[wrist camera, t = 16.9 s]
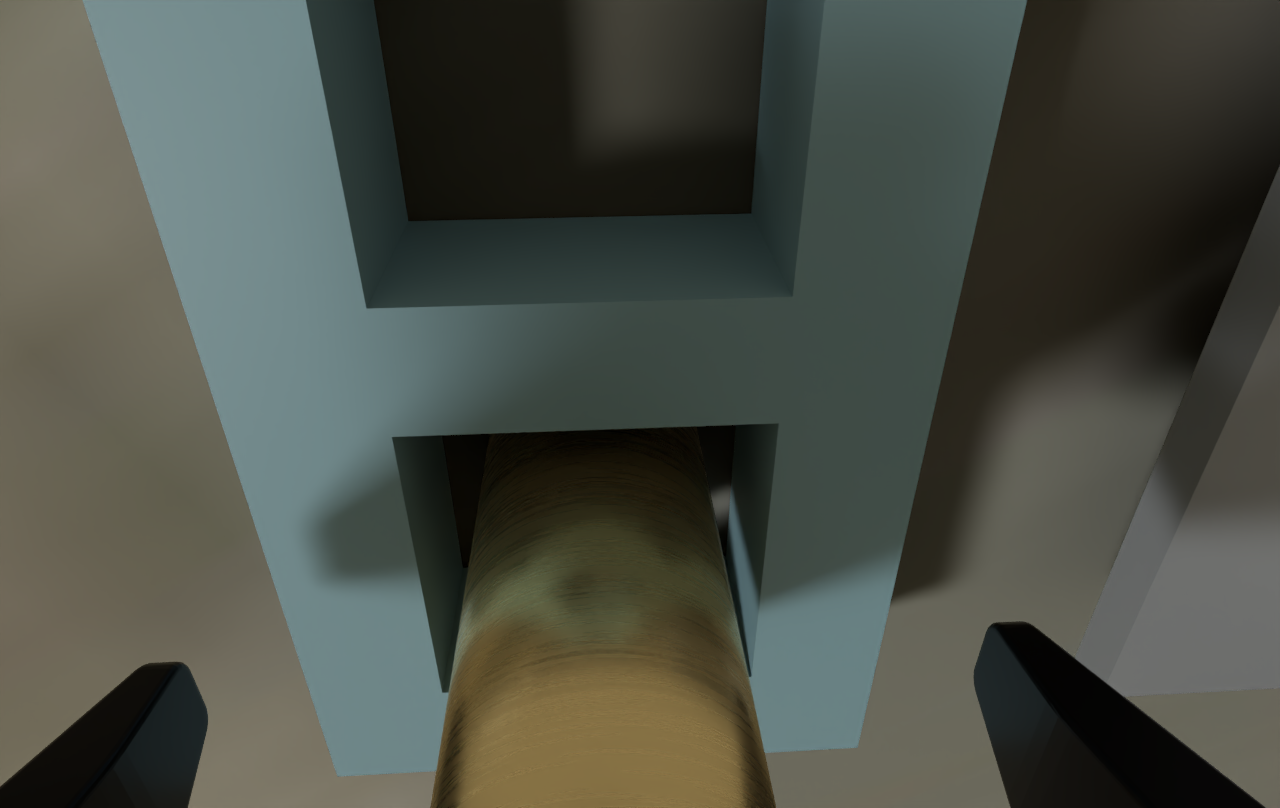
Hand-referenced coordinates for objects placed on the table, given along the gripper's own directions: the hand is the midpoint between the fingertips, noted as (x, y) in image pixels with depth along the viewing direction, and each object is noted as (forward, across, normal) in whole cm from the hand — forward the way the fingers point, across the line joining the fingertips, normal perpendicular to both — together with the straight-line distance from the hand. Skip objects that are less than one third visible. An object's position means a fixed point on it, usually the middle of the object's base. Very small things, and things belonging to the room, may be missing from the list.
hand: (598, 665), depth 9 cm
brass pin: (+4, 0, 0) cm, 4 cm away
